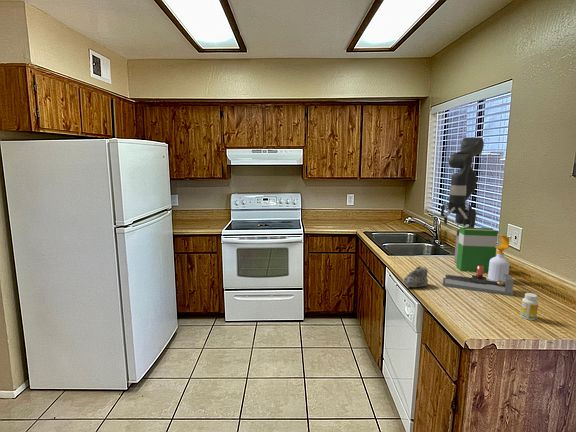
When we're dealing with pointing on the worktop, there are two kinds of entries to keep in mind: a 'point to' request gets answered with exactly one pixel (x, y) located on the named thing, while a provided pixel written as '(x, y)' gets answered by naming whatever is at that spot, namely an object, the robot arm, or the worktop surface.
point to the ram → (479, 276)
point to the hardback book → (476, 248)
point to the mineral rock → (417, 278)
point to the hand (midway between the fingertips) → (455, 225)
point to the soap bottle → (499, 262)
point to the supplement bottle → (529, 306)
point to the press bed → (489, 287)
